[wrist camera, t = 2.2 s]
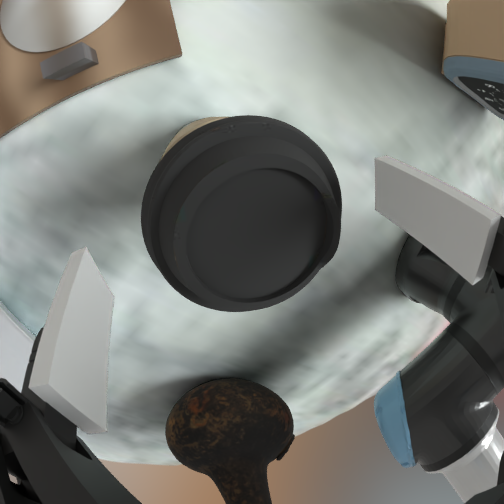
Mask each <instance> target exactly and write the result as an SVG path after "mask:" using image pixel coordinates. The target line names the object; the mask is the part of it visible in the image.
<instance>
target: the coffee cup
mask: <svg viewBox="0 0 504 504" xmlns="http://www.w3.org/2000/svg"><path fill="white" fill-rule="evenodd" d="M341 213H342V198H341V190H340V185H339V181H338V178H337V175H336V173H335V170H334V168H333V166H332V164H331V162H330V161H329V159H328V157H327V156H326V155H325V153H324V152H323V151H322V149H321V148H320V147H319V146H318V145H317V144H316V143H315V142H314V141H312V140H311V139H310V138H309V137H308V136H307V135H306V134H304V133H303V132H301V131H300V130H298V129H297V128H295V127H293V126H291V125H289V124H287V123H285V122H282V121H279V120H276V119H273V118H268V117H262V116H249V115H247V116H234V117H209V118H204V119H200V120H197V121H194V122H191V123H189V124H188V125H186V126H185V127H183V128H182V129H181V130H180V131H179V132H178V133H177V134H176V135H175V136H174V138H173V139H172V140H171V142H170V143H169V145H168V146H167V148H166V150H165V152H164V154H163V156H162V158H161V159H160V161H159V163H158V165H157V166H156V168H155V170H154V171H153V173H152V175H151V177H150V179H149V182H148V184H147V187H146V190H145V193H144V197H143V202H142V210H141V226H142V233H143V238H144V242H145V245H146V248H147V250H148V253H149V255H150V257H151V259H152V260H153V262H154V263H155V265H156V266H157V268H158V269H159V270H160V272H161V273H162V275H163V276H164V278H165V279H166V280H167V281H168V283H169V284H170V285H171V286H172V287H173V288H174V289H175V290H176V291H177V292H179V293H180V294H181V295H183V296H184V297H185V298H187V299H189V300H190V301H192V302H194V303H196V304H199V305H201V306H204V307H207V308H210V309H214V310H219V311H227V312H245V311H252V310H258V309H263V308H267V307H270V306H273V305H276V304H278V303H280V302H283V301H285V300H286V299H288V298H290V297H292V296H293V295H295V294H296V293H297V292H299V291H300V290H301V289H303V288H304V287H305V286H306V285H307V284H308V283H309V282H310V281H311V280H312V279H313V278H314V277H315V275H316V274H317V273H318V271H319V270H320V269H321V268H322V267H324V266H325V265H326V264H327V263H328V262H329V261H330V260H331V259H332V258H333V256H334V254H335V253H336V250H337V248H338V244H339V239H340V232H341Z"/></svg>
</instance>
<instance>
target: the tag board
mask: <svg viewBox="0 0 504 504" xmlns="http://www.w3.org/2000/svg"><path fill="white" fill-rule="evenodd" d="M181 56H182V51H181V47H180V42H179V38H178V34H177V30H176V26H175V22H174V17H173V13H172V9H171V4H170V0H0V138H1V137H3V136H4V135H6V134H7V133H9V132H10V131H12V130H13V129H15V128H16V127H18V126H20V125H21V124H23V123H24V122H26V121H28V120H29V119H31V118H33V117H35V116H36V115H38V114H40V113H42V112H43V111H45V110H47V109H49V108H51V107H52V106H54V105H56V104H58V103H60V102H62V101H64V100H66V99H68V98H70V97H72V96H74V95H76V94H79V93H81V92H83V91H85V90H87V89H89V88H92V87H94V86H96V85H99V84H101V83H104V82H106V81H108V80H111V79H113V78H116V77H119V76H121V75H124V74H127V73H129V72H132V71H135V70H138V69H141V68H144V67H147V66H150V65H153V64H157V63H160V62H163V61H167V60H170V59H174V58H177V57H181Z"/></svg>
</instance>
